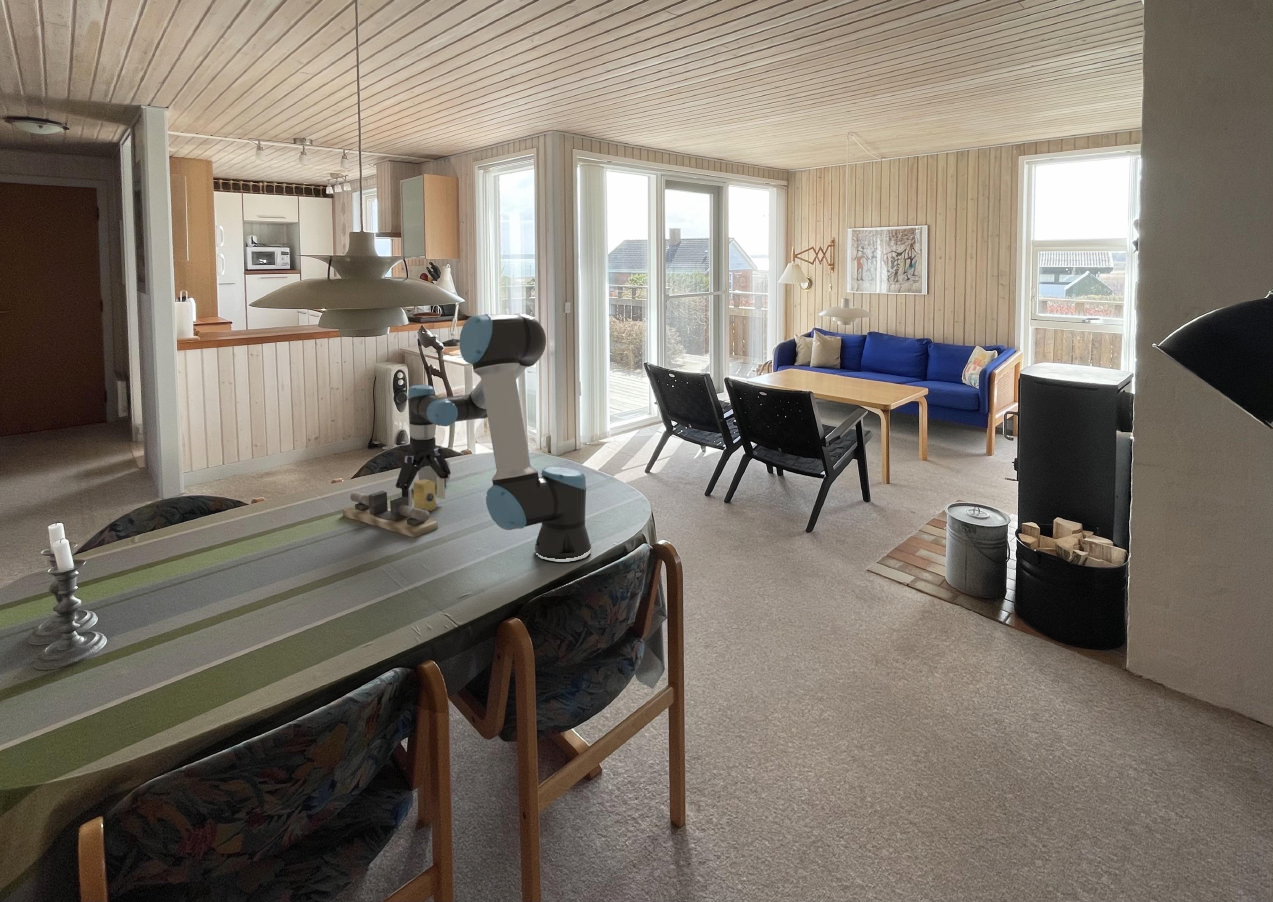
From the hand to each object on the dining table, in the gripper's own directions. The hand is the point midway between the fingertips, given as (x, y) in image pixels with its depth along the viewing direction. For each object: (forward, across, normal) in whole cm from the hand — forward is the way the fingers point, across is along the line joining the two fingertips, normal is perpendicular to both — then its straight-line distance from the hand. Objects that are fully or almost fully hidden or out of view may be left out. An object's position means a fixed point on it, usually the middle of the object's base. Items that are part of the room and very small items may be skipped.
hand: (424, 503), depth 233 cm
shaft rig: (+2, +14, 0) cm, 14 cm away
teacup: (+2, -21, -17) cm, 27 cm away
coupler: (+2, 0, 0) cm, 2 cm away
